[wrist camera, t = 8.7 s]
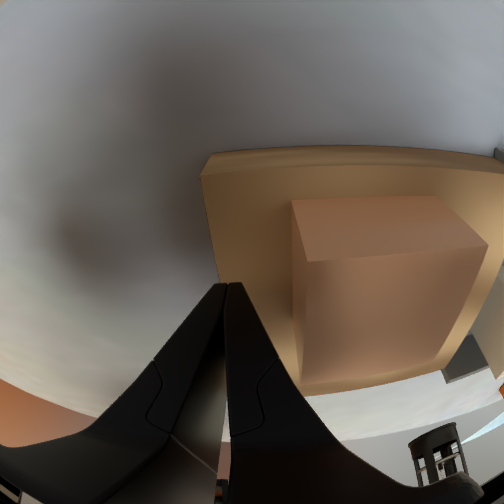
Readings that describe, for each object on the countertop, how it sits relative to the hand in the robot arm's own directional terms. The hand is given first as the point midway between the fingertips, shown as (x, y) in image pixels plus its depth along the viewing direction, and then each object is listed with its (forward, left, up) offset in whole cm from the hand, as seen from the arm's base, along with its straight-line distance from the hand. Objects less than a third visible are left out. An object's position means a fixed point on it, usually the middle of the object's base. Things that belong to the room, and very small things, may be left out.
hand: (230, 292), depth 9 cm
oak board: (-3, -6, -4) cm, 8 cm away
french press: (-42, -28, -4) cm, 51 cm away
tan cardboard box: (0, -4, -1) cm, 5 cm away
